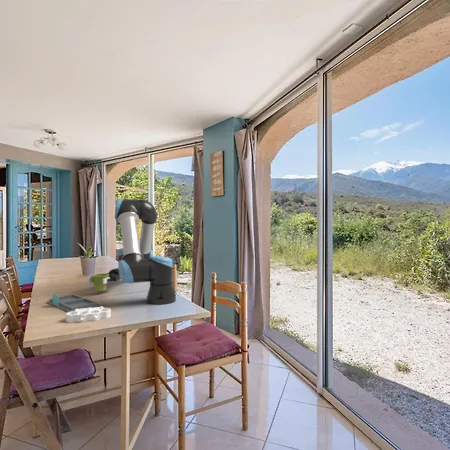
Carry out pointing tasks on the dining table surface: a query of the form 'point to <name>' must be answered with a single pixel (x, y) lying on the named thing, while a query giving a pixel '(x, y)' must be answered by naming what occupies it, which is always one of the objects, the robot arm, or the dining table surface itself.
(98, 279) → the plant pot
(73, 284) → the dining table surface
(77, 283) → the dining table surface
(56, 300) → the tray
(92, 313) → the knuckle duster
